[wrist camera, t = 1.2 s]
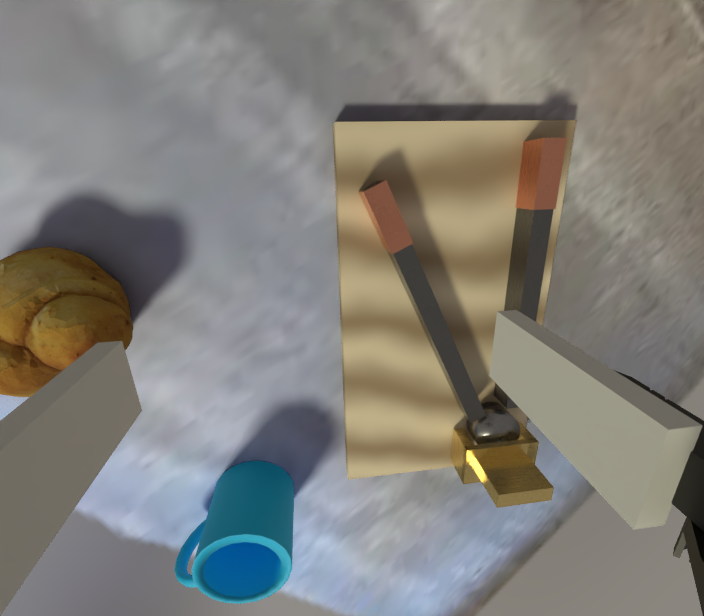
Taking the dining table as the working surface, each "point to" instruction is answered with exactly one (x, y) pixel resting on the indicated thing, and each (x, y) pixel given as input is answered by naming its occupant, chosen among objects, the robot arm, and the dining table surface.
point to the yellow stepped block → (502, 468)
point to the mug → (243, 536)
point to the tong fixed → (525, 264)
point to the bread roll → (54, 315)
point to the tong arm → (420, 293)
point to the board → (441, 272)
